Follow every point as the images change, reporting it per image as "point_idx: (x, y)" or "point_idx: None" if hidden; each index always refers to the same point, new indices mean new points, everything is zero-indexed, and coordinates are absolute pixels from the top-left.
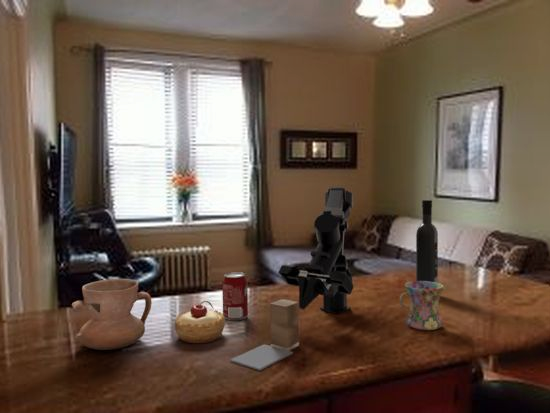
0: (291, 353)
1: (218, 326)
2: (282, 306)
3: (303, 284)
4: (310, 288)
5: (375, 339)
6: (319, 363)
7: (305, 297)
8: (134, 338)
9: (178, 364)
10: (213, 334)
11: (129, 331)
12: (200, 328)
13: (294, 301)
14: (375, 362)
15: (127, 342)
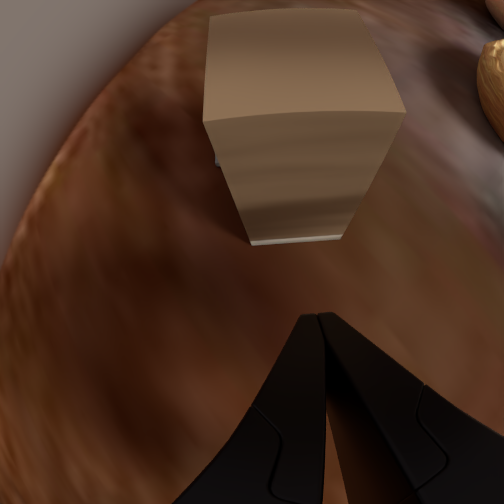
0: (215, 158)
1: (496, 88)
2: (242, 13)
3: (425, 489)
4: (219, 469)
5: (72, 467)
6: (105, 171)
7: (288, 368)
8: (499, 16)
9: (384, 5)
10: (481, 86)
11: (501, 2)
12: (484, 46)
13: (251, 116)
14: (4, 283)
15: (491, 11)
